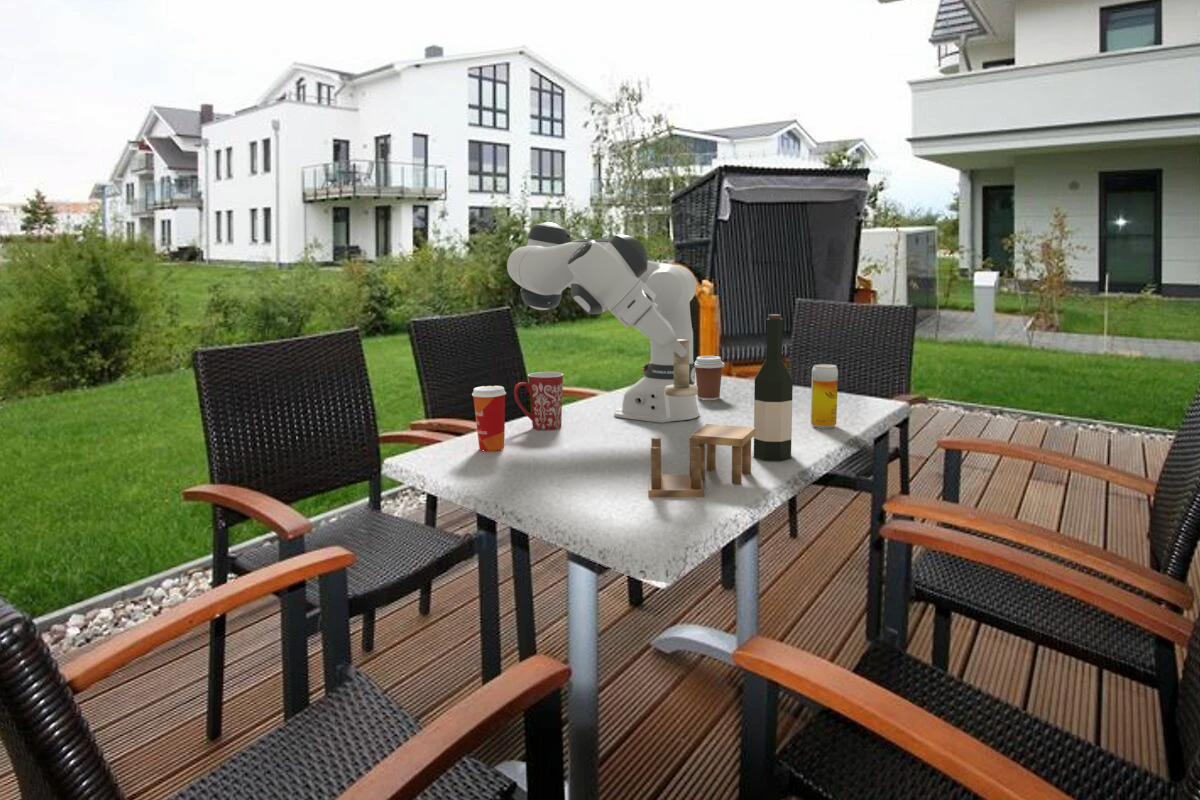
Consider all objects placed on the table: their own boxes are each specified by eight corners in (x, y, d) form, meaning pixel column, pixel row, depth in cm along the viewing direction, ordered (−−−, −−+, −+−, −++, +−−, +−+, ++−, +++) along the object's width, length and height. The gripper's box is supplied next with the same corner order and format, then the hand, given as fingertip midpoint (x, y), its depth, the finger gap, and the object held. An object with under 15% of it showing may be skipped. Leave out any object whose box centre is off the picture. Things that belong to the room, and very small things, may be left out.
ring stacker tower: (660, 395, 165) (660, 341, 163) (671, 390, 171) (671, 338, 168) (691, 397, 162) (691, 342, 160) (701, 391, 168) (701, 338, 166)
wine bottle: (761, 449, 178) (763, 312, 172) (798, 454, 173) (801, 313, 167) (745, 458, 171) (747, 316, 165) (783, 463, 166) (786, 317, 160)
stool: (691, 480, 156) (690, 434, 154) (706, 466, 165) (706, 423, 163) (741, 485, 152) (742, 439, 150) (754, 471, 161) (755, 427, 159)
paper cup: (475, 445, 187) (472, 385, 185) (509, 443, 188) (506, 384, 185) (473, 453, 180) (470, 392, 177) (508, 452, 180) (505, 390, 178)
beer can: (837, 429, 194) (839, 367, 191) (811, 429, 195) (812, 367, 192) (835, 423, 200) (837, 363, 197) (809, 423, 201) (811, 363, 198)
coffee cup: (689, 400, 233) (689, 359, 231) (697, 394, 242) (697, 354, 239) (720, 402, 230) (720, 360, 228) (727, 396, 238) (727, 355, 236)
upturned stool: (648, 498, 147) (647, 450, 145) (649, 482, 156) (648, 436, 155) (704, 498, 146) (704, 449, 144) (701, 481, 156) (701, 436, 154)
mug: (561, 421, 210) (559, 370, 207) (568, 429, 201) (567, 375, 199) (512, 425, 207) (510, 373, 204) (518, 433, 198) (516, 379, 195)
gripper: (625, 312, 174) (671, 356, 175) (624, 322, 154) (675, 371, 155) (645, 291, 173) (691, 335, 174) (647, 297, 153) (699, 348, 154)
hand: (684, 352), depth 165 cm, fingers closed on ring stacker tower, 3 cm apart
